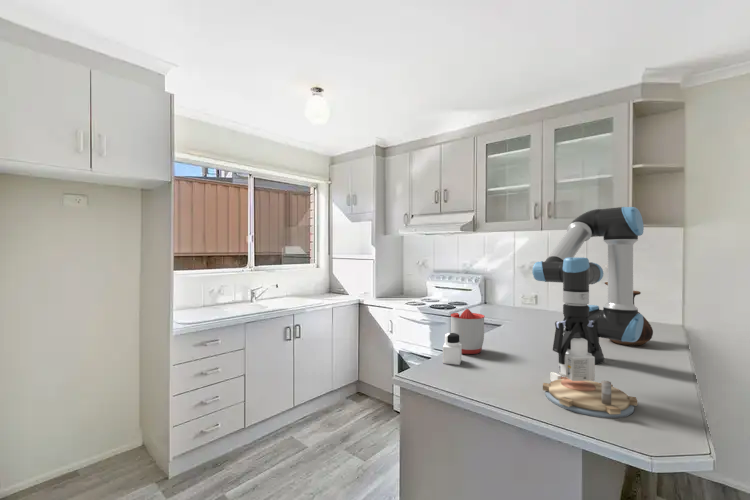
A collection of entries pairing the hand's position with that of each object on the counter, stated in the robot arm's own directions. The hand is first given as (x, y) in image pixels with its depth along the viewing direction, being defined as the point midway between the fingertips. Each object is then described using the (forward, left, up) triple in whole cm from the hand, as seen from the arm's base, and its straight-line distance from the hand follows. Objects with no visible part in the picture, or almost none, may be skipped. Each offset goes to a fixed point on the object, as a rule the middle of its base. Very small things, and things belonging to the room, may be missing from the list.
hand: (576, 373), depth 119 cm
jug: (-55, +71, -7) cm, 90 cm away
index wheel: (+5, 0, -6) cm, 8 cm away
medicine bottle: (-39, -28, -7) cm, 48 cm away
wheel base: (+2, 0, -7) cm, 7 cm away
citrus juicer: (-54, -15, -7) cm, 56 cm away
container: (0, 0, -1) cm, 1 cm away
